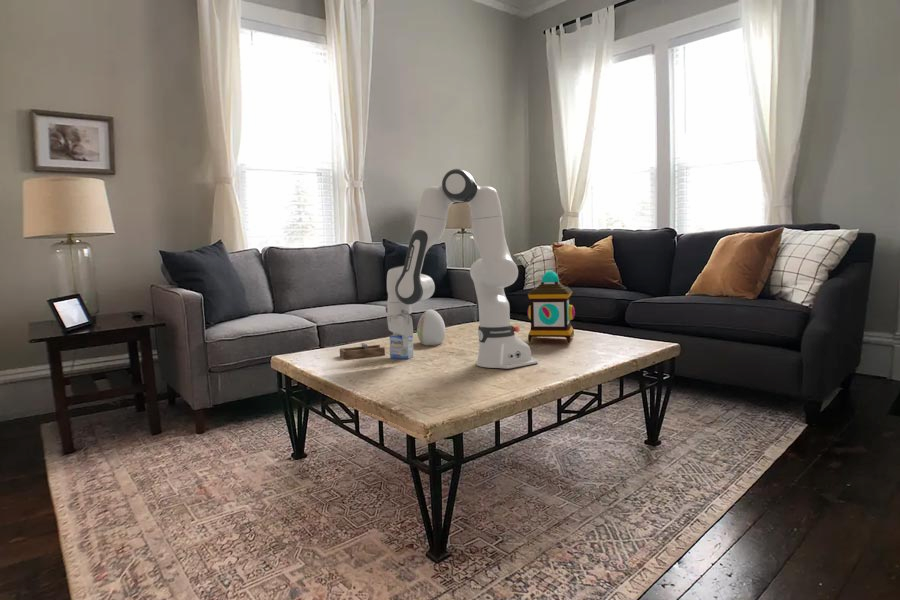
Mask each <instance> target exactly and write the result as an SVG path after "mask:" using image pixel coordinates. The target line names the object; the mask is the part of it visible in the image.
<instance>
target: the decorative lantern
mask: <svg viewBox="0 0 900 600" xmlns="http://www.w3.org/2000/svg"><path fill="white" fill-rule="evenodd" d="M559 279H560V278H559V276H558V274H557V273H556V272H555V271H554V270H548V271H546V272H545V273H544V274H542V277H541V282H540V284H539V285H538V286H536V287H535V288H532V289H531V290H530V291H529V292H528V293H527V297H528V299H529V301H530V303H529V304H530V305H529V306H528V307H527V318H528V319H529V320H530V330H529V332H528V334H527V340H528V344H532V342H533V338H538V337H539V338H565V339H566V343H567V344H568V345H569V344H571V339H573V338H574V336H575V333H574V328H573V326H572V322H571V321H572V320H574V319H575V315H576V312H575V307H574V305H573V304H571V296H572V294H573V290H572V289H571V288H569V286H565V284H562V283H561V282H560V280H559Z"/></svg>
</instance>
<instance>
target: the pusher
mask: <svg viewBox="0 0 900 600" xmlns="http://www.w3.org/2000/svg"><path fill="white" fill-rule="evenodd" d="M367 346H368V344H366V343H365V342H363V343H361V347H362V349H367Z"/></svg>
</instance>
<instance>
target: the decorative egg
mask: <svg viewBox="0 0 900 600" xmlns="http://www.w3.org/2000/svg"><path fill="white" fill-rule="evenodd" d="M417 323H418V324H417V330H416V332H417V338H418V340H419V342H420V343H421V345H423V346H428V345H433V346H439V345H441V344H442V343H443V342H444V340H445V337H446V335H447V334H446V332H447V331H446V325H445V322H444V319H443V317H442V316H441V314H440V313H438V312H437V310H435V309H427V310H426V311H425V312H424V313H422V315H421V316H420V318H419V320H418V322H417Z"/></svg>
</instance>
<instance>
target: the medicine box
mask: <svg viewBox="0 0 900 600" xmlns="http://www.w3.org/2000/svg"><path fill="white" fill-rule="evenodd" d="M413 336H414V335H413ZM413 336H409V340H408V347H407V348H403V347H402V343H403V339H402V336H401V335H393V334H391V335H389V358H390V359H394V360H395V359H396V360H410V359H412V358H414V356H415V355H414V337H413Z"/></svg>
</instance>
